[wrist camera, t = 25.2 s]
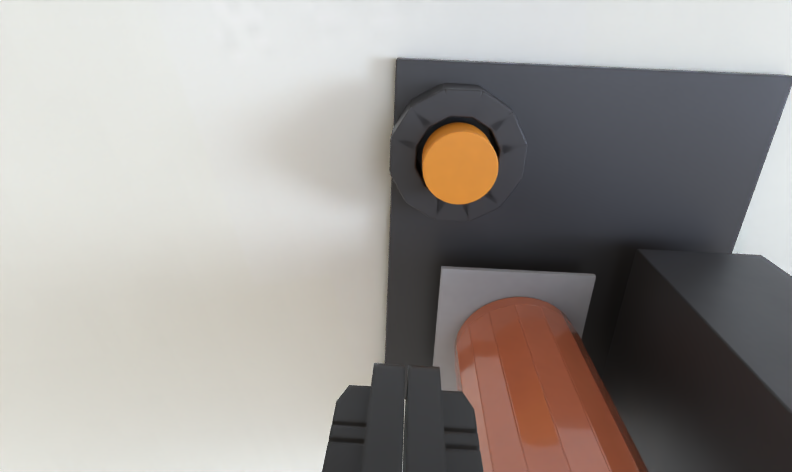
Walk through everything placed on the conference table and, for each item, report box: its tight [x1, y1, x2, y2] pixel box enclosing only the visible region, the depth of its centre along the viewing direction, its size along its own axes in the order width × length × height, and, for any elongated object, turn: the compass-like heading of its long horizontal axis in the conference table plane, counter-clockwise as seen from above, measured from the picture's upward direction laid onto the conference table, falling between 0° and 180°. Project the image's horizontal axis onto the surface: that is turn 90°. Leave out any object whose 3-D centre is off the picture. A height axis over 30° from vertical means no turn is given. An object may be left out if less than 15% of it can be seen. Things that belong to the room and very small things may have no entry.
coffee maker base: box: [385, 58, 792, 399], centre depth 26 cm, size 18×20×3 cm
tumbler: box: [454, 297, 648, 472], centre depth 21 cm, size 6×6×10 cm
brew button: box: [422, 122, 498, 204], centre depth 22 cm, size 3×3×2 cm
